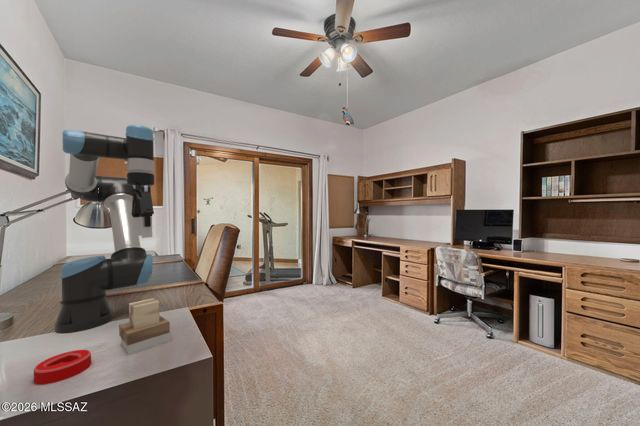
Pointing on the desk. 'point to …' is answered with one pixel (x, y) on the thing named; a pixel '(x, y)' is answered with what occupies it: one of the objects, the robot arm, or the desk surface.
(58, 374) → the decorative ornament
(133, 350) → the slab bottom
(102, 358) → the desk surface
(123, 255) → the robot arm
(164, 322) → the slab top
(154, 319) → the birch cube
